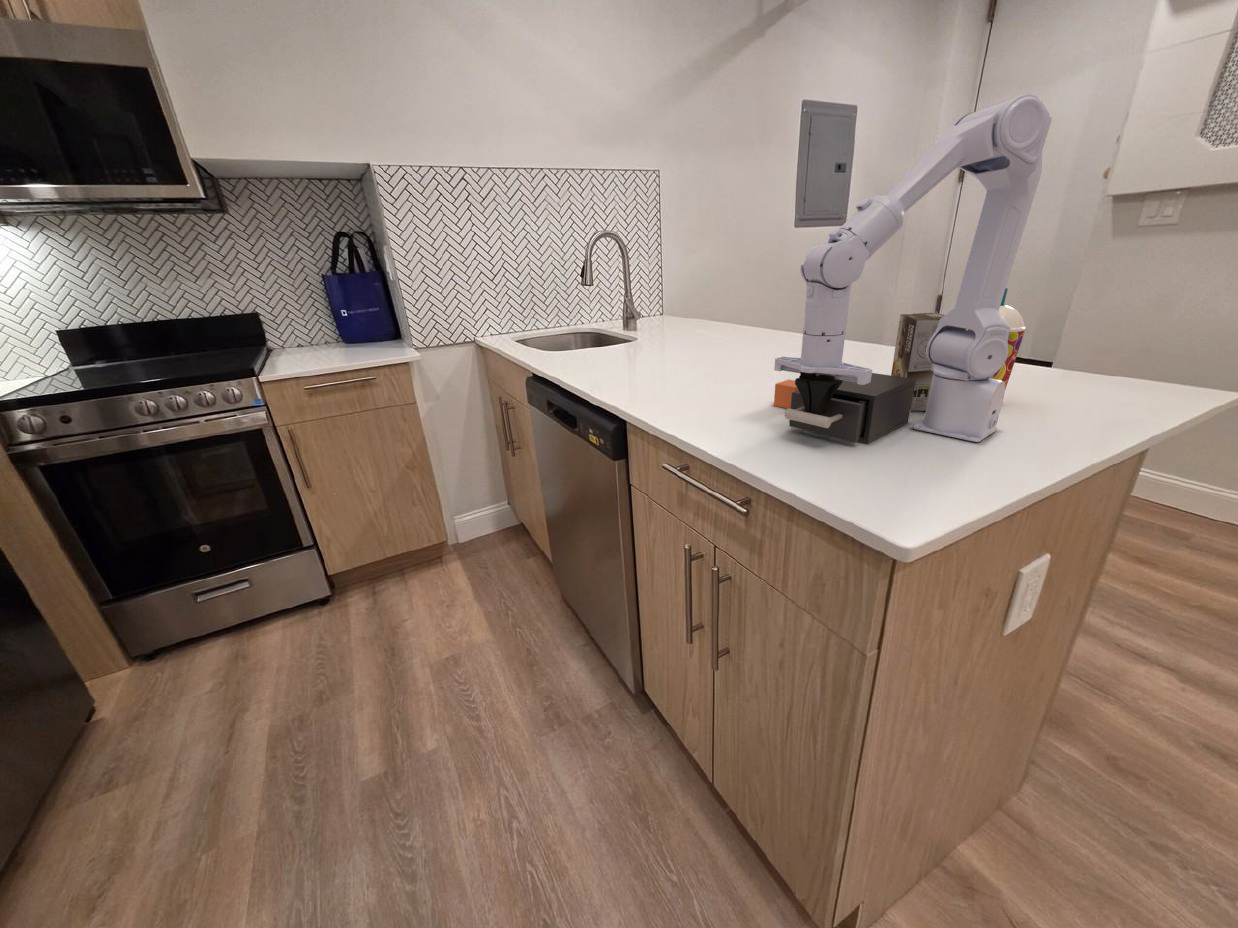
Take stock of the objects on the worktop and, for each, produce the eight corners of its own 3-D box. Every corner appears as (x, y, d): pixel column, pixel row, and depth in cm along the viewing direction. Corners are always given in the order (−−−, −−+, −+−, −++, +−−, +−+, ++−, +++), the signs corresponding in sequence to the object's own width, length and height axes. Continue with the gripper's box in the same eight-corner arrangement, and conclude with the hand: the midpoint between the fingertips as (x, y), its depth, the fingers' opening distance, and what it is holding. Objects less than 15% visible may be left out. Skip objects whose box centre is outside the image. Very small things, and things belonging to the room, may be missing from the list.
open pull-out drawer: (837, 451, 73) (841, 413, 71) (770, 433, 81) (773, 398, 79) (894, 423, 83) (899, 388, 80) (829, 409, 91) (833, 378, 89)
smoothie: (944, 396, 98) (966, 287, 90) (991, 395, 97) (1018, 285, 89) (965, 408, 90) (991, 291, 82) (1016, 408, 89) (1048, 289, 81)
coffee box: (939, 411, 89) (958, 318, 83) (900, 411, 91) (916, 319, 84) (922, 397, 98) (938, 311, 91) (886, 397, 99) (899, 312, 93)
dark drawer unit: (867, 444, 77) (875, 396, 74) (795, 426, 86) (799, 382, 83) (908, 423, 85) (916, 379, 82) (837, 408, 94) (842, 368, 91)
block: (806, 405, 97) (808, 382, 95) (793, 410, 95) (795, 387, 93) (786, 401, 100) (788, 379, 99) (773, 405, 98) (775, 383, 96)
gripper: (764, 332, 75) (759, 418, 81) (858, 341, 65) (845, 440, 70) (792, 326, 79) (785, 409, 85) (884, 334, 69) (870, 428, 74)
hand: (814, 422), depth 78 cm, fingers closed
